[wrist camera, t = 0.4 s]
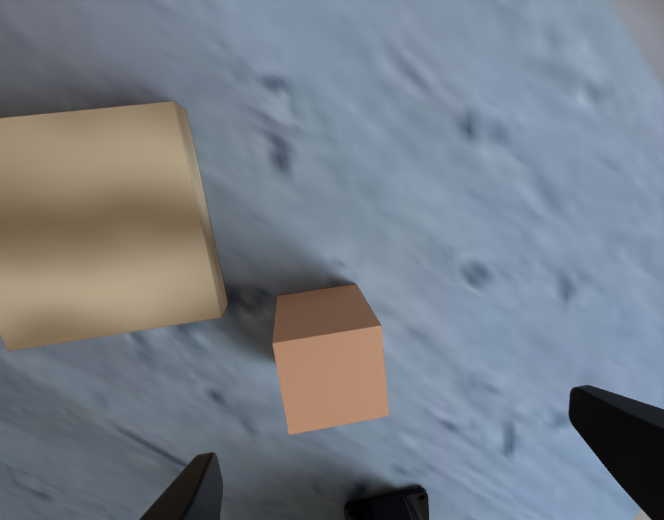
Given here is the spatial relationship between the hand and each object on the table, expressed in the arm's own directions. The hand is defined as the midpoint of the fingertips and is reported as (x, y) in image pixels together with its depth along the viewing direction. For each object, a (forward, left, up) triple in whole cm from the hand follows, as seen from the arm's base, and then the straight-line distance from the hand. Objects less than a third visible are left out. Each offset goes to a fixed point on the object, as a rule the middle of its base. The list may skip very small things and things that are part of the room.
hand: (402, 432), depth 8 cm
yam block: (-3, +1, -13) cm, 13 cm away
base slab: (+5, +12, -13) cm, 18 cm away
